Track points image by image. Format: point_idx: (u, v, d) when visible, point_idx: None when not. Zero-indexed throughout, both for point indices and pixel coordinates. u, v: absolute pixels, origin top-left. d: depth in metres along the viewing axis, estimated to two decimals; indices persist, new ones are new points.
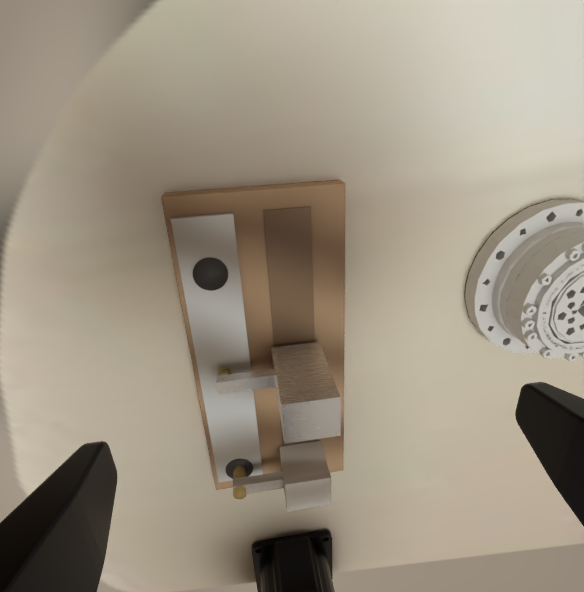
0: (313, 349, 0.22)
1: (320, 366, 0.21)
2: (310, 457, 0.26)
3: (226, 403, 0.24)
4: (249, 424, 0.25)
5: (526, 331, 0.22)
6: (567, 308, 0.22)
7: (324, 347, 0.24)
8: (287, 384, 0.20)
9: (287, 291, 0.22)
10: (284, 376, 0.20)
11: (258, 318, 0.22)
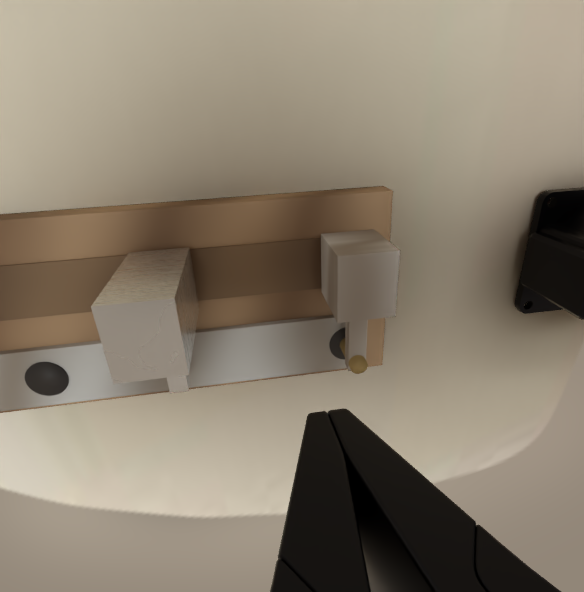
0: None
1: None
2: (327, 263, 0.17)
3: (234, 359, 0.19)
4: (272, 333, 0.19)
5: None
6: None
7: (146, 239, 0.16)
8: None
9: (59, 293, 0.17)
10: None
11: None
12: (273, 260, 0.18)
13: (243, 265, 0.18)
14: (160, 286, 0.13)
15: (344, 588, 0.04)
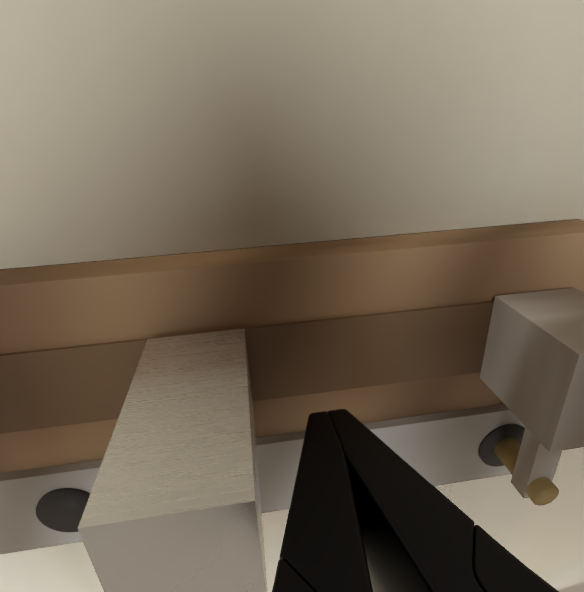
0: None
1: None
2: (517, 348, 0.10)
3: None
4: (402, 436, 0.13)
5: None
6: None
7: (231, 309, 0.10)
8: None
9: (90, 393, 0.11)
10: None
11: None
12: (418, 335, 0.11)
13: (372, 343, 0.11)
14: (217, 450, 0.07)
15: (346, 587, 0.04)
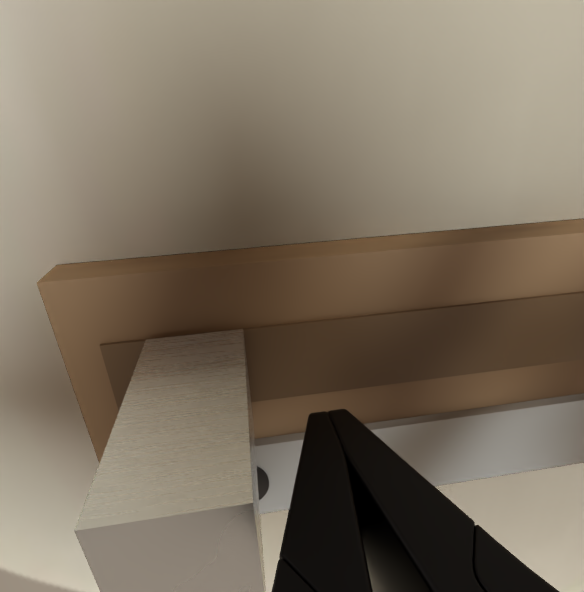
0: None
1: None
2: None
3: (491, 450, 0.13)
4: (551, 415, 0.13)
5: None
6: None
7: (420, 290, 0.11)
8: None
9: (280, 370, 0.11)
10: None
11: (333, 409, 0.12)
12: (583, 317, 0.12)
13: (538, 324, 0.12)
14: (215, 451, 0.06)
15: (346, 587, 0.05)
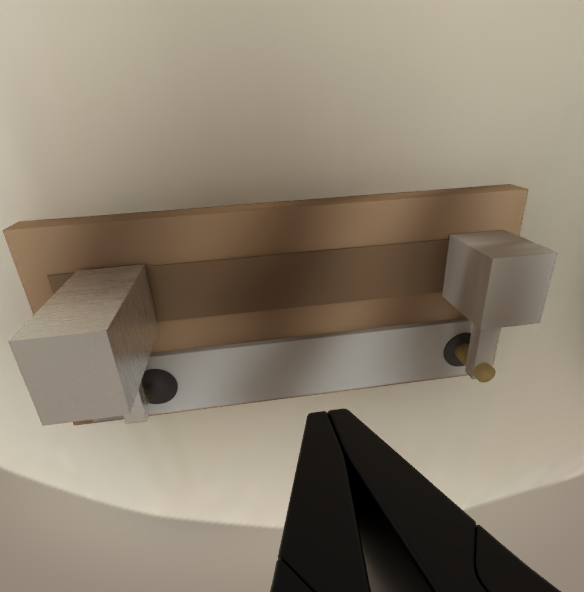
0: None
1: None
2: (462, 266, 0.16)
3: (346, 366, 0.18)
4: (388, 339, 0.18)
5: None
6: None
7: (272, 240, 0.16)
8: None
9: (177, 298, 0.16)
10: None
11: (221, 330, 0.17)
12: (398, 262, 0.17)
13: (366, 268, 0.17)
14: (96, 314, 0.11)
15: (344, 587, 0.04)
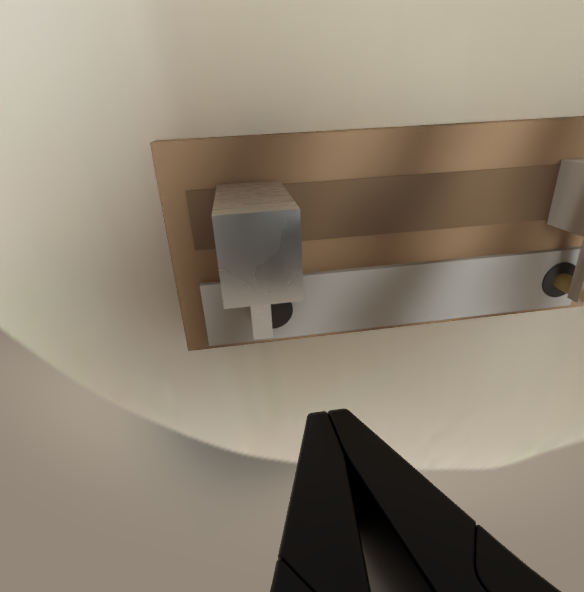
0: None
1: None
2: (579, 186, 0.16)
3: (451, 294, 0.19)
4: (493, 266, 0.18)
5: None
6: None
7: (397, 160, 0.16)
8: None
9: (302, 218, 0.16)
10: None
11: (337, 254, 0.17)
12: (510, 187, 0.17)
13: (480, 192, 0.17)
14: (275, 202, 0.12)
15: (344, 588, 0.04)
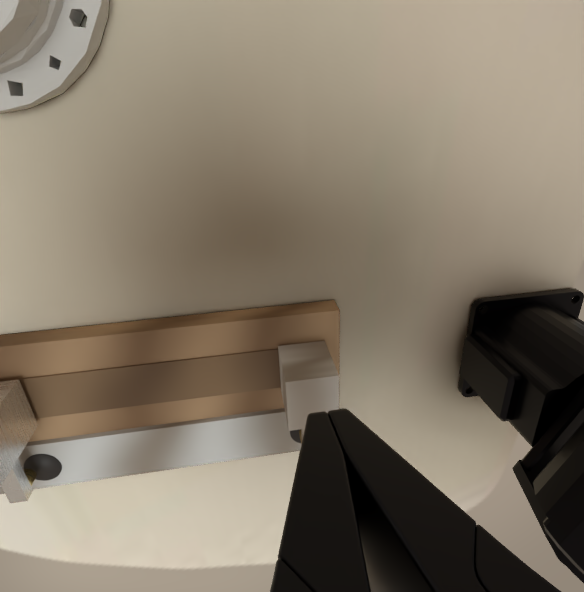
0: None
1: None
2: (282, 375, 0.19)
3: (206, 446, 0.22)
4: (239, 424, 0.22)
5: None
6: None
7: (127, 355, 0.19)
8: None
9: (52, 400, 0.20)
10: None
11: (94, 421, 0.21)
12: (237, 367, 0.20)
13: (212, 372, 0.20)
14: None
15: (344, 588, 0.04)
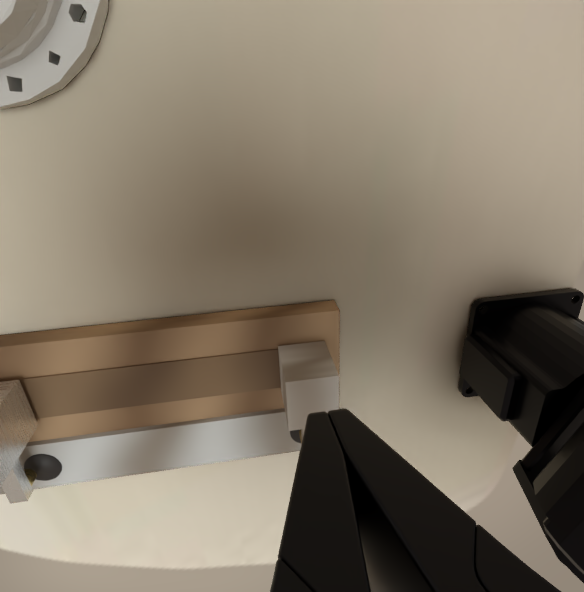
0: None
1: None
2: (282, 376, 0.19)
3: (206, 446, 0.22)
4: (239, 424, 0.22)
5: None
6: None
7: (127, 355, 0.19)
8: None
9: (53, 400, 0.20)
10: None
11: (94, 422, 0.21)
12: (237, 367, 0.20)
13: (212, 372, 0.20)
14: None
15: (344, 588, 0.04)
